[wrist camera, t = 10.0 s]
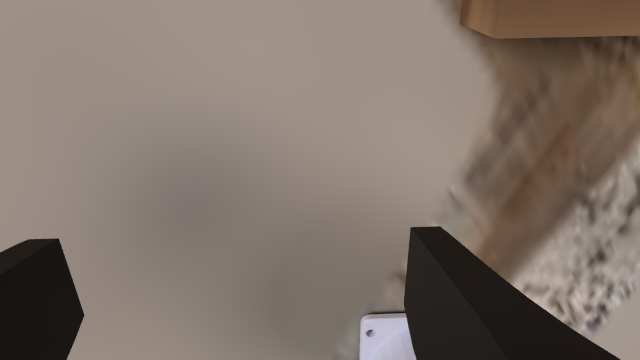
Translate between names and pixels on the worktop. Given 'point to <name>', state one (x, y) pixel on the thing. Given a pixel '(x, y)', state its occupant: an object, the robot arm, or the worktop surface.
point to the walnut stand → (552, 18)
